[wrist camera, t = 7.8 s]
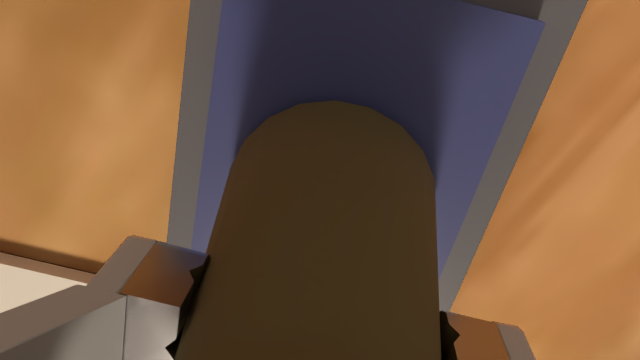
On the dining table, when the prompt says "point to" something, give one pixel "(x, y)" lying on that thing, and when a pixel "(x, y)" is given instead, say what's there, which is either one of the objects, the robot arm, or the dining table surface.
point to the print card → (33, 280)
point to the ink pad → (372, 94)
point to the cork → (321, 245)
